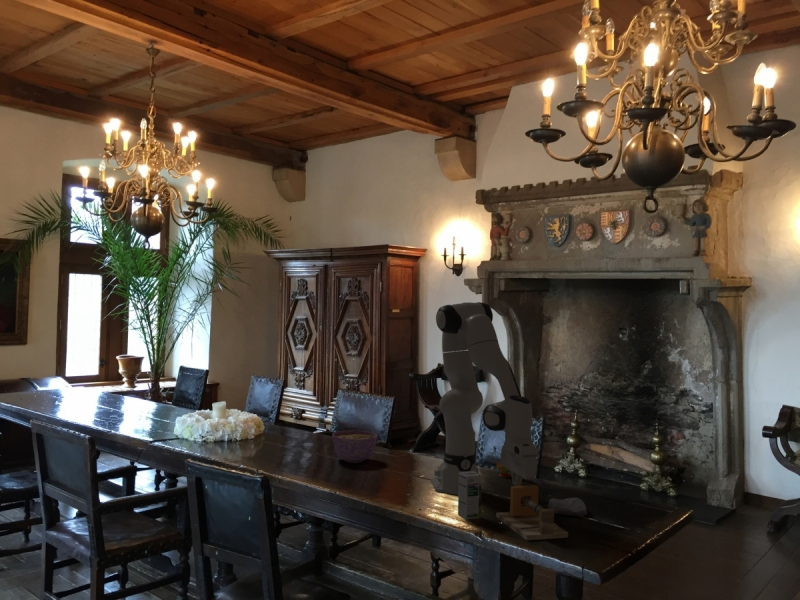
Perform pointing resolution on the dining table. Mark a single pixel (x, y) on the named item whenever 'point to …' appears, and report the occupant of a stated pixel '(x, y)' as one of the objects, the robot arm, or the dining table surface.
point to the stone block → (568, 506)
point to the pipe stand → (533, 522)
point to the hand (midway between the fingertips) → (516, 485)
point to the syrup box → (469, 495)
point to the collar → (516, 499)
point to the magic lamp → (501, 467)
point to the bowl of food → (354, 445)
